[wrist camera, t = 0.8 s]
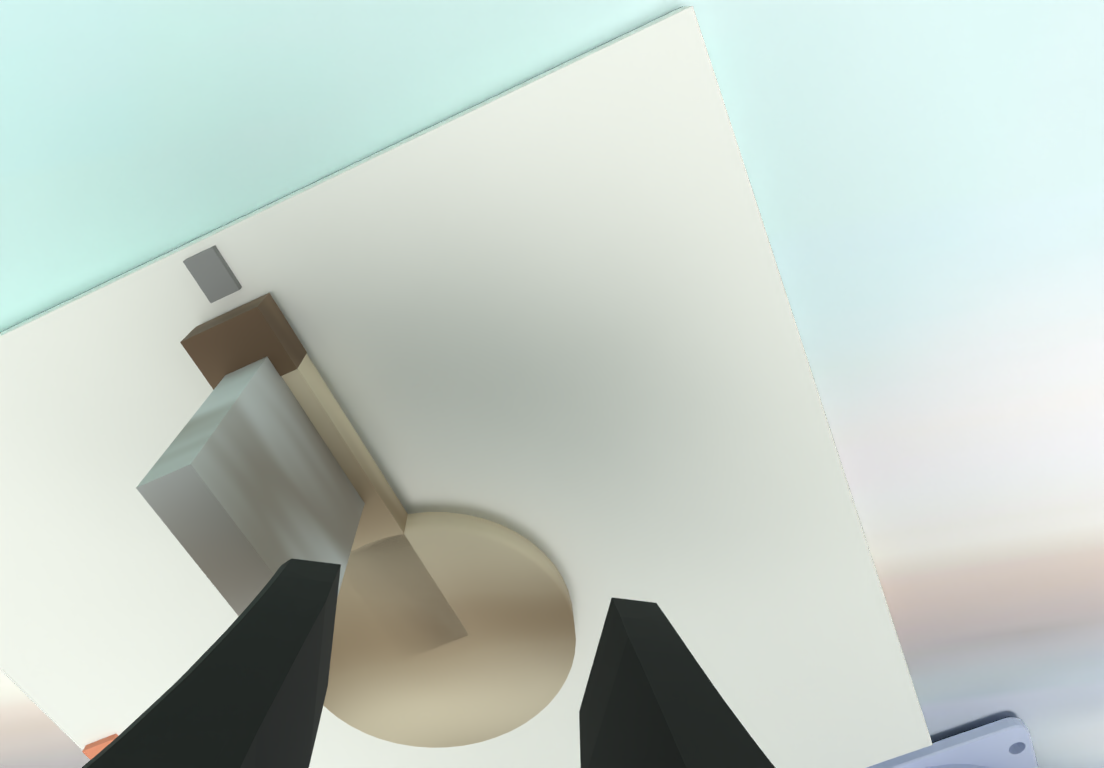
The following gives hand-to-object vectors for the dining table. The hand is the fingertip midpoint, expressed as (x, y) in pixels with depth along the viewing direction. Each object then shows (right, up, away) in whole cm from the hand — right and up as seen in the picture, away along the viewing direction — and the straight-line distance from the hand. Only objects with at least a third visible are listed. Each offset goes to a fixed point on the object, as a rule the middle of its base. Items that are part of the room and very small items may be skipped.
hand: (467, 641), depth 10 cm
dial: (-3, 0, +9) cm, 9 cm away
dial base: (-2, -2, +11) cm, 12 cm away
